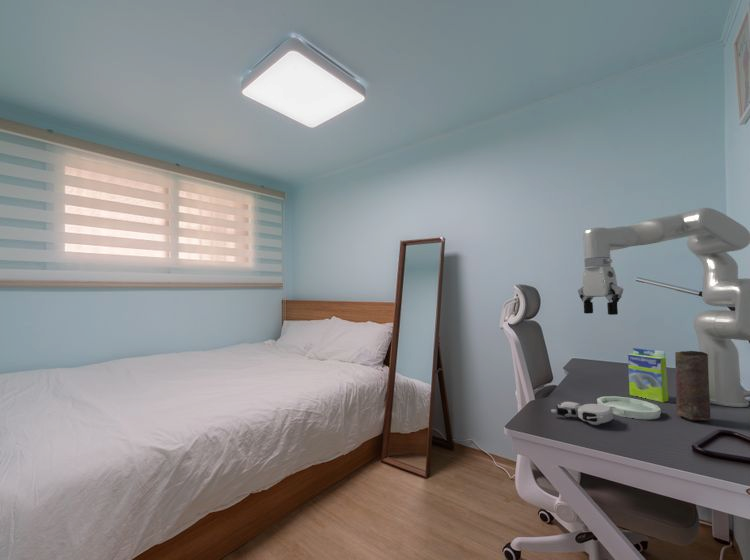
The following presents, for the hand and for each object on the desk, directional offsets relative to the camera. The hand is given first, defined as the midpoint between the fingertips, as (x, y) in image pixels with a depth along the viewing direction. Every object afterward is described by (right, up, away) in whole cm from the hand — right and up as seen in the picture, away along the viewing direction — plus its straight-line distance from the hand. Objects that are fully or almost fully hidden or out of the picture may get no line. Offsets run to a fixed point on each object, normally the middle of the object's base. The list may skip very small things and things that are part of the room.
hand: (600, 313), depth 113 cm
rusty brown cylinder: (+18, -30, -15) cm, 38 cm away
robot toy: (-14, -31, -13) cm, 36 cm away
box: (+22, -31, +7) cm, 39 cm away
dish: (+5, -31, -6) cm, 32 cm away
